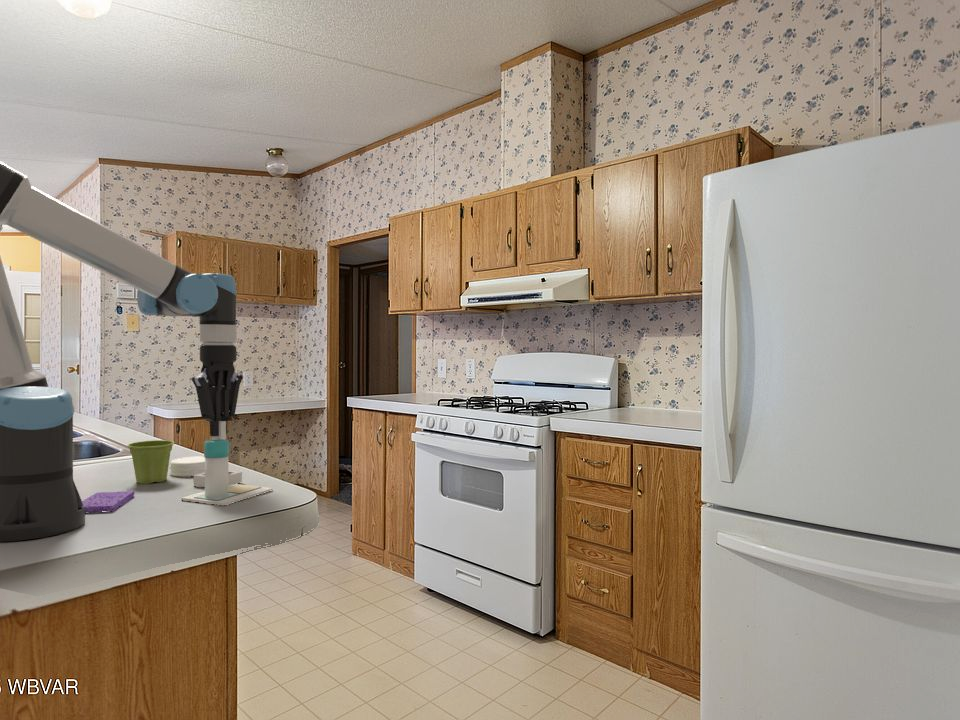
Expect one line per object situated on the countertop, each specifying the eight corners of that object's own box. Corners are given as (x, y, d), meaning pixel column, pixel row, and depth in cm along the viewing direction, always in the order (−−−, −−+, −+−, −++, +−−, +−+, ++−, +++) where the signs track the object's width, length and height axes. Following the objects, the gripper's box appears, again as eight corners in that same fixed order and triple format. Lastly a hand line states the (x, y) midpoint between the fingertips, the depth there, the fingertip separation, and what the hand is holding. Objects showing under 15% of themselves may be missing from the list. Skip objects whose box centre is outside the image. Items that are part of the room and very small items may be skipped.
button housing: (218, 489, 134) (218, 477, 134) (193, 486, 137) (193, 475, 137) (241, 483, 141) (241, 472, 141) (217, 480, 143) (217, 469, 143)
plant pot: (160, 486, 137) (160, 446, 137) (118, 485, 137) (118, 446, 137) (182, 477, 147) (182, 440, 146) (142, 476, 147) (142, 440, 147)
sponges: (70, 516, 114) (70, 506, 114) (96, 500, 126) (97, 490, 126) (113, 515, 116) (113, 505, 116) (134, 498, 128) (134, 489, 128)
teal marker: (216, 499, 123) (217, 443, 123) (198, 496, 125) (199, 441, 124) (233, 494, 127) (234, 440, 127) (216, 491, 129) (216, 438, 129)
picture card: (224, 506, 120) (224, 502, 120) (181, 500, 124) (181, 497, 124) (272, 490, 134) (272, 487, 134) (232, 486, 137) (232, 483, 137)
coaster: (175, 479, 145) (175, 464, 145) (165, 472, 153) (165, 458, 153) (220, 474, 151) (220, 460, 151) (208, 468, 159) (208, 454, 159)
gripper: (226, 344, 146) (227, 445, 146) (181, 344, 134) (182, 454, 134) (252, 344, 143) (252, 447, 144) (208, 344, 131) (209, 456, 131)
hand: (218, 450), depth 139 cm, fingers closed
